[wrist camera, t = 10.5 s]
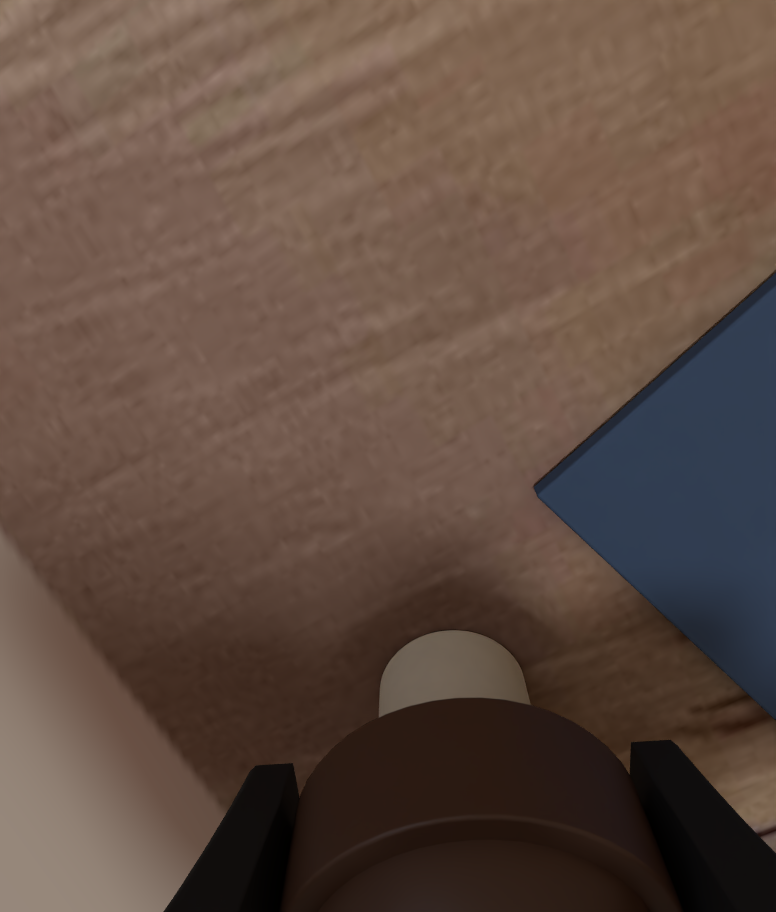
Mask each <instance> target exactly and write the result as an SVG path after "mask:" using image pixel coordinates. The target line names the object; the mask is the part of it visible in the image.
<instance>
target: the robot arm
mask: <svg viewBox="0 0 776 912" xmlns="http://www.w3.org/2000/svg"><path fill="white" fill-rule="evenodd" d="M630 777H631V778H632V781H633V783H634V785H635V788H636V790H637V792H638V795H639V797H640V800H641V802H642V805H643V808H644V810H645V813H646V815H647V818H648V820H649V823H650V826H651V828H652V831H653V833H654V836H655V838H656V841H657V844H658V846H659V849H660V851H661V854H662V857H663V859H664V862H665V864H666V867H667V869H668V872H669V875H670V877H671V880H672V882H673V885H674V887H675V890H676V893H677V895H678V898H679V900H680V903H681V905H682V908H683V911H684V912H776V853H775V852H774V851H773V850H772V849H771V848H770V847H769V846H768V845H767V844H766V843H765V842H764V841H763V840H762V839H761V838H760V837H759V836H758V835H757V834H756V833H755V832H754V831H753V829H752V828H751V827H750V826H749V825H748V824H747V823H746V822H745V821H744V820H743V819H742V818H741V817H740V816H739V815H738V813H737V812H736V811H735V810H734V809H733V808H732V807H731V806H730V805H729V804H728V803H727V801H726V800H725V799H724V798H723V797H722V796H721V795H720V794H719V793H718V792H717V790H716V789H715V788H714V787H713V786H712V785H711V784H710V783H709V781H708V780H707V779H706V778H705V777H704V776H703V775H702V774H701V772H700V771H699V770H698V769H697V768H696V767H695V766H694V764H693V763H692V762H691V761H690V760H689V759H688V757H687V756H686V755H685V754H684V753H683V752H682V750H681V749H680V748H679V747H678V746H677V745H676V744H675V743H674V742H673V741H671V740H660V741H644V742H631V754H630ZM298 802H299V793H298V788H297V782H296V777H295V771H294V766H293V763H288V764H272V765H256V766H255V767H254V768H253V769H252V770H251V771H250V772H249V774H248V776H247V778H246V779H245V781H244V783H243V785H242V787H241V789H240V790H239V792H238V794H237V796H236V797H235V799H234V801H233V803H232V805H231V806H230V808H229V810H228V811H227V813H226V815H225V817H224V818H223V820H222V822H221V823H220V825H219V827H218V828H217V830H216V832H215V833H214V835H213V837H212V838H211V840H210V842H209V843H208V845H207V846H206V848H205V850H204V851H203V853H202V854H201V856H200V857H199V859H198V860H197V862H196V864H195V865H194V867H193V868H192V870H191V871H190V873H189V874H188V876H187V878H186V879H185V881H184V883H183V884H182V885H181V887H180V888H179V890H178V891H177V893H176V895H175V896H174V897H173V899H172V900H171V902H170V903H169V905H168V906H167V908H166V909H165V910H164V912H279V909H280V903H281V897H282V891H283V885H284V879H285V873H286V867H287V861H288V855H289V849H290V843H291V837H292V831H293V825H294V819H295V814H296V810H297V806H298Z"/></svg>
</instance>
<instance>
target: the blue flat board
mask: <svg viewBox="0 0 776 912" xmlns="http://www.w3.org/2000/svg"><path fill="white" fill-rule="evenodd" d="M534 489H535V492H536V494H537V496H538V498H539V499H540V500H541V501H542V502H543V503H545V504H546V505H547V506H548V507H549V508H550V509H551V510H552V511H553V512H554V513H555V514H556V515H557V516H558V517H559V518H561V519H562V520H563V521H564V522H565V523H566V524H567V525H568V526H569V527H570V528H571V529H572V530H573V531H574V532H575V533H577V534H578V535H579V536H580V537H581V538H582V539H583V540H584V541H585V542H586V543H587V544H588V545H589V546H590V547H591V548H592V549H594V550H595V551H596V552H597V553H598V554H599V555H600V556H601V557H602V558H603V559H604V560H605V561H606V562H607V563H608V564H610V565H611V566H612V567H613V568H614V569H615V570H616V571H617V572H618V573H619V574H620V575H621V576H622V577H623V578H624V579H626V580H627V581H628V582H629V583H630V584H631V585H632V586H633V587H634V588H635V589H636V590H637V591H638V592H639V593H640V594H642V595H643V596H644V597H645V598H646V599H647V600H648V601H649V602H650V603H651V604H652V605H653V606H654V607H655V608H656V609H658V610H659V611H660V612H661V613H662V614H663V615H664V616H665V617H666V618H667V619H668V620H669V621H670V622H671V623H672V624H674V625H675V626H676V627H677V628H678V629H679V630H680V631H681V632H682V633H683V634H684V635H685V636H686V637H687V638H688V639H690V640H691V641H692V642H693V643H694V644H695V645H696V646H697V647H698V648H699V649H700V650H701V651H702V652H703V653H704V654H706V655H707V656H708V657H709V658H710V659H711V660H712V661H713V662H714V663H715V664H716V665H717V666H718V667H719V668H720V669H721V670H723V671H724V672H725V673H726V674H727V675H728V676H729V677H730V678H731V679H732V680H733V681H734V682H735V683H736V684H737V685H739V686H740V687H741V688H742V689H743V690H744V691H745V692H746V693H747V694H748V695H749V696H750V697H751V698H752V699H753V700H755V701H756V702H757V703H758V704H759V705H760V706H761V707H762V708H763V709H764V710H765V711H766V712H767V713H768V714H769V715H771V716H772V717H773V718H774V719H775V720H776V273H775V274H774V275H773V276H772V277H771V278H769V279H768V280H767V281H766V282H765V283H764V284H763V285H762V286H760V287H759V288H758V289H757V290H756V291H755V292H754V293H752V294H751V295H750V296H749V297H748V298H747V299H746V300H745V301H743V302H742V303H741V304H740V305H739V306H738V307H737V308H736V309H734V310H733V311H732V312H731V313H730V314H729V315H728V316H726V317H725V318H724V319H723V320H722V321H721V322H720V323H719V324H717V325H716V326H715V327H714V328H713V329H712V330H711V331H710V332H708V333H707V334H706V335H705V336H704V337H703V338H702V339H701V340H699V341H698V342H697V343H696V344H695V345H694V346H693V347H691V348H690V349H689V350H688V351H687V352H686V353H685V354H684V355H682V356H681V357H680V358H679V359H678V360H677V361H676V362H675V363H673V364H672V365H671V366H670V367H669V368H668V369H667V370H665V371H664V372H663V373H662V374H661V375H660V376H659V377H658V378H656V379H655V380H654V381H653V382H652V383H651V384H650V385H649V386H647V387H646V388H645V389H644V390H643V391H642V392H641V393H640V394H638V395H637V396H636V397H635V398H634V399H633V400H632V401H630V402H629V403H628V404H627V405H626V406H625V407H624V408H623V409H621V410H620V411H619V412H618V413H617V414H616V415H615V416H614V417H612V418H611V419H610V420H609V421H608V422H607V423H606V424H604V425H603V426H602V427H601V428H600V429H599V430H598V431H597V432H595V433H594V434H593V435H592V436H591V437H590V438H589V439H588V440H586V441H585V442H584V443H583V444H582V445H581V446H580V447H579V448H577V449H576V450H575V451H574V452H573V453H572V454H571V455H569V456H568V457H567V458H566V459H565V460H564V461H563V462H562V463H560V464H559V465H558V466H557V467H556V468H555V469H554V470H553V471H551V472H550V473H549V474H548V475H547V476H546V477H545V478H543V479H542V480H541V481H540V482H539V483H538V484H537V485H536V486H535V487H534Z"/></svg>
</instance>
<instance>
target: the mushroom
mask: <svg viewBox="0 0 776 912" xmlns="http://www.w3.org/2000/svg"><path fill="white" fill-rule="evenodd" d="M279 912H684V911H683V908H682V905H681V903H680V900H679V898H678V895H677V893H676V890H675V887H674V885H673V882H672V880H671V877H670V875H669V872H668V869H667V867H666V864H665V862H664V859H663V857H662V854H661V851H660V849H659V846H658V844H657V841H656V838H655V836H654V833H653V831H652V828H651V826H650V823H649V820H648V818H647V815H646V813H645V810H644V808H643V805H642V802H641V800H640V797H639V795H638V792H637V790H636V788H635V785H634V783H633V781H632V778H631V777H630V775H629V773H628V772H627V770H626V769H625V767H624V766H623V764H622V763H621V761H620V760H619V759H618V758H617V757H616V756H615V755H614V754H613V752H612V751H611V750H610V749H609V748H608V747H607V746H606V745H605V744H603V743H602V742H601V741H600V740H599V739H597V738H596V737H595V736H594V735H593V734H591V733H590V732H588V731H587V730H585V729H584V728H582V727H580V726H579V725H577V724H576V723H574V722H572V721H570V720H568V719H566V718H564V717H562V716H560V715H557V714H555V713H553V712H551V711H548V710H545V709H541V708H538V707H535V706H532V705H531V704H530V700H529V696H528V692H527V688H526V684H525V680H524V676H523V673H522V670H521V668H520V666H519V664H518V662H517V661H516V659H515V658H514V657H513V656H512V655H511V653H510V652H509V651H508V650H506V649H505V648H504V647H503V646H502V645H500V644H499V643H497V642H496V641H494V640H492V639H490V638H488V637H486V636H483V635H480V634H477V633H474V632H469V631H461V630H446V631H438V632H434V633H430V634H427V635H424V636H421V637H419V638H417V639H415V640H413V641H411V642H410V643H408V644H407V645H405V646H404V647H403V648H401V649H400V650H399V651H398V652H397V653H396V654H395V655H394V657H393V658H392V659H391V660H390V662H389V663H388V665H387V666H386V668H385V670H384V673H383V675H382V679H381V684H380V697H379V718H377V719H375V720H373V721H371V722H369V723H367V724H365V725H363V726H362V727H360V728H359V729H357V730H356V731H354V732H352V733H351V734H349V735H348V736H347V737H345V738H344V739H343V740H342V741H341V742H339V743H338V744H337V745H336V746H335V747H334V748H332V749H331V750H330V752H329V753H328V754H327V755H326V756H325V757H324V758H323V759H322V760H321V762H320V763H319V764H318V765H317V767H316V768H315V770H314V771H313V773H312V774H311V776H310V777H309V779H308V780H307V782H306V784H305V787H304V789H303V791H302V793H301V796H300V798H299V802H298V806H297V810H296V814H295V819H294V825H293V831H292V837H291V843H290V849H289V855H288V861H287V867H286V873H285V879H284V885H283V891H282V897H281V903H280V909H279Z"/></svg>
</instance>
